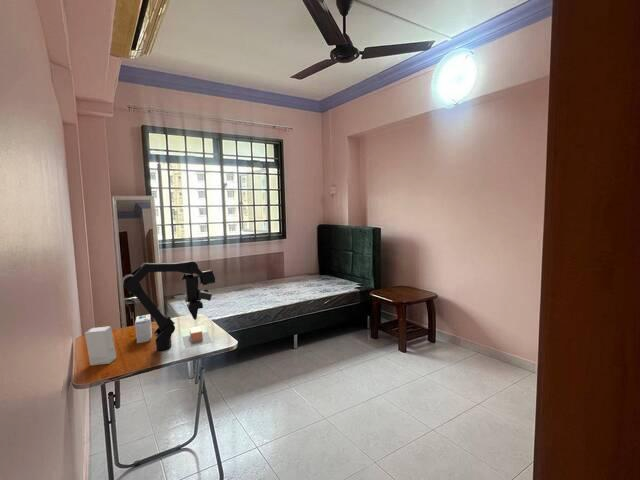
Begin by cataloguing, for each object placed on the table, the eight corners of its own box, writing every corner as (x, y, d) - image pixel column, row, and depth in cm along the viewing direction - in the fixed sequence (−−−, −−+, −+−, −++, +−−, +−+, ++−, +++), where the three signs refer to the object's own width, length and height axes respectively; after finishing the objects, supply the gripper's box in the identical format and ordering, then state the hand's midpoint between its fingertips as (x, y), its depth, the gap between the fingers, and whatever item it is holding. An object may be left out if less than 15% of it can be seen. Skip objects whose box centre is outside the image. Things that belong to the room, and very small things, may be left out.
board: (212, 344, 158) (212, 342, 158) (185, 350, 153) (185, 348, 153) (204, 327, 184) (204, 324, 183) (180, 331, 178) (180, 329, 178)
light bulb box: (138, 336, 175) (135, 316, 174) (152, 333, 177) (150, 313, 176) (136, 343, 165) (134, 322, 164) (152, 340, 168) (149, 319, 167)
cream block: (202, 331, 162) (199, 325, 170) (191, 333, 160) (189, 328, 168) (202, 339, 162) (200, 333, 170) (191, 341, 160) (189, 335, 168)
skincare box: (116, 358, 149) (112, 325, 148) (109, 364, 143) (104, 330, 142) (97, 359, 149) (93, 326, 147) (88, 366, 143) (84, 332, 141)
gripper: (213, 288, 155) (215, 321, 157) (207, 281, 172) (209, 311, 173) (187, 292, 150) (190, 326, 152) (183, 284, 167) (186, 315, 168)
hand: (195, 319), depth 161 cm, fingers closed
